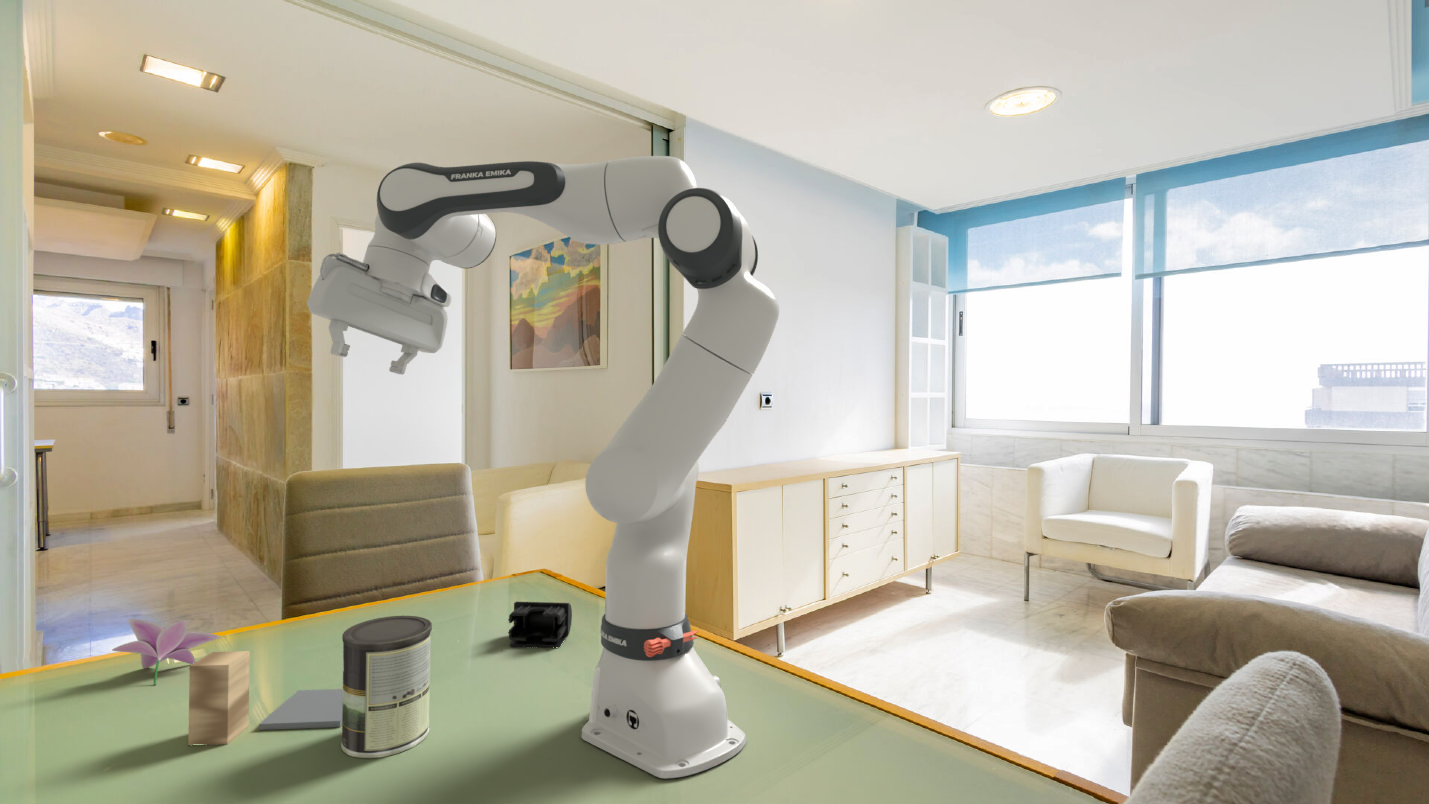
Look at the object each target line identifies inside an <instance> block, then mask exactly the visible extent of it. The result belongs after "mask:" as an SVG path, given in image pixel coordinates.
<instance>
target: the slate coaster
mask: <svg viewBox="0 0 1429 804" xmlns="http://www.w3.org/2000/svg"><path fill="white" fill-rule="evenodd" d="M342 711H343V688H328V689H327V688H325V689H301V690H300V689H298V690H296V692H294V693H293V694H292V695H291V696H290V697H289V698H288V699H286V700H285V701H284V702H283V703H282V704H281V705H280V706H278V707H277V708H276V709H275V710H273V712H271V713H270V714H269V715H268V716H267V717H266V718H265V719H263V720H262V721H261V722H259V723H258V731H269V730H270V731H271V730H296V729H320V728H321V729H323V728H340V727H342Z"/></svg>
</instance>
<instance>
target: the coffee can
mask: <svg viewBox="0 0 1429 804" xmlns="http://www.w3.org/2000/svg"><path fill="white" fill-rule="evenodd" d="M432 629H433V623H432V621H430V620H429V619H427V618H424V617H421V616H417V615H392V616H384V617H378V618H372V619H370V620H369V619H368V620H366V621H362V622H360V623H357V624H355V625H352V626H351V627H348V628H347V629H346V630H345V631H343V633H342V638H341V639H342V644H343V648H342V649H343V650H342V653H343V654H342V659H343V661H342V662H343V663H342V665H343V666H342V689H343V711H342V725H341V732H342V733H341V743H340V746H341V747H340V748H341V750H342V752H343V753H345V754H346V755H347V756H349V757H353V758H356V759H378V758H385V757H390V756H393V755H397V754H401V753H403V752H405V751H407V750H410V749H412V748H414V747H416V746H418V745H419V744H420V743H421V742H423V741H424V740H425V739H426V738H427V737H428V734H429V732H430V685H431V684H430V682H431V681H430V680H431V679H430V678H431V636H432V635H431V632H432Z"/></svg>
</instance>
